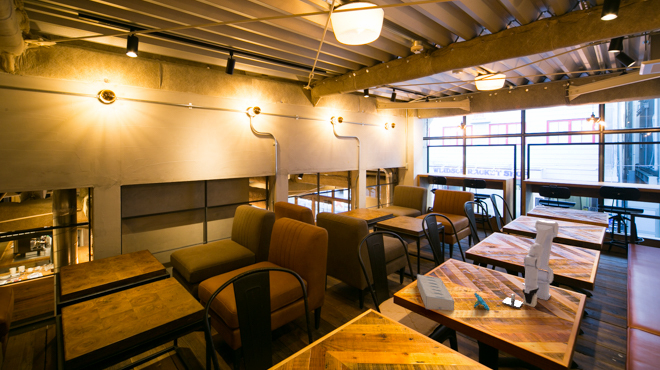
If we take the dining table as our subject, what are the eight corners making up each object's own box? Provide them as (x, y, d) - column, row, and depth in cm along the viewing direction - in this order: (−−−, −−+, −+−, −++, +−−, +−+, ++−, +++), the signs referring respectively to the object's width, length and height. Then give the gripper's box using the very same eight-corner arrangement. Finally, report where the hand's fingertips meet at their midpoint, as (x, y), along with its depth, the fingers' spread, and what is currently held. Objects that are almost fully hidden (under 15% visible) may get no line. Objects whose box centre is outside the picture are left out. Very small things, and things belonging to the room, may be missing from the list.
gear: (491, 311, 153) (476, 294, 156) (481, 317, 155) (467, 301, 158) (489, 304, 163) (475, 289, 166) (481, 310, 165) (467, 295, 168)
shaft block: (507, 299, 169) (507, 289, 169) (523, 304, 163) (523, 294, 163) (502, 303, 164) (502, 293, 164) (518, 308, 158) (519, 298, 158)
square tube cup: (526, 300, 167) (526, 290, 166) (536, 304, 163) (537, 293, 163) (523, 303, 164) (523, 293, 163) (533, 307, 160) (534, 296, 159)
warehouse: (453, 311, 158) (454, 297, 157) (425, 309, 160) (426, 296, 159) (440, 286, 187) (440, 275, 187) (416, 285, 189) (417, 274, 188)
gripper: (526, 272, 170) (525, 294, 171) (518, 279, 160) (517, 303, 161) (541, 275, 165) (540, 299, 166) (534, 283, 155) (532, 308, 156)
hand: (530, 301), depth 163 cm, fingers open, 5 cm apart
